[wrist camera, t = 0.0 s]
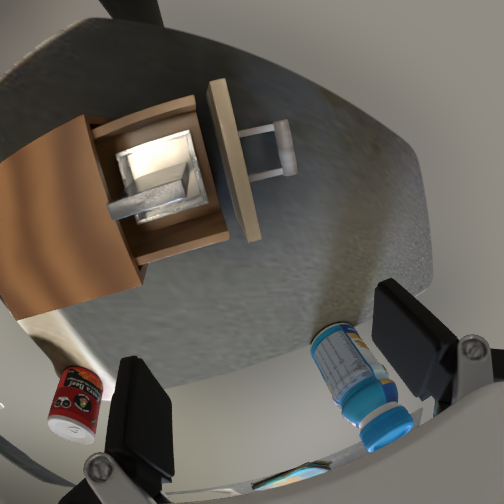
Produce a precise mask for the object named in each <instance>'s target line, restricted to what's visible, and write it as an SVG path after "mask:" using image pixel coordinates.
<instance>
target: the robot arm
mask: <svg viewBox="0 0 504 504" xmlns="http://www.w3.org/2000/svg"><path fill="white" fill-rule="evenodd" d="M372 339H373V342H374V343H375V345H376V346H377V347H378V349H379V350H380V351H381V352H382V354H383V355H384V356H385V358H386V359H387V360H388V362H389V363H390V364H391V366H392V367H393V368H394V370H395V371H396V372H397V374H398V375H399V376H400V378H401V379H402V380H403V382H404V383H405V384H406V386H407V387H408V388H409V390H410V391H411V392H412V394H413V395H414V396H415V397H419V398H420V399H421V401H424V400H425V399H427V398H428V397H430V396H432V397H434V399H435V406H434V414H433V418H432V419H431V420H429V421H427V422H426V423H424V424H422V425H421V426H419V427H418V428H416V429H414V430H413V431H411V432H409V433H407V434H406V435H404V436H402V437H400V438H399V439H397V440H395V441H393V442H391V443H389V444H388V445H386V446H384V447H382V448H380V449H378V450H376V451H374V452H372V453H370V454H367V455H365V456H363V457H361V458H359V459H356V460H354V461H352V462H350V463H347V464H345V465H342V466H340V467H337V468H335V469H332V470H330V471H327V472H324V473H321V474H319V475H316V476H313V477H310V478H307V479H304V480H300V481H297V482H294V483H290V484H287V485H283V486H280V487H276V488H272V489H268V490H264V491H259V492H255V493H250V494H245V495H239V496H234V497H228V498H221V499H213V500H206V501H196V502H185V503H175V502H173V501H172V500H171V499H170V498H169V497H168V496H167V495H166V494H165V493H164V492H163V491H162V483H172V479H171V477H173V476H174V474H175V471H174V457H173V456H174V454H173V433H172V403H171V400H170V398H169V396H168V395H167V393H166V392H165V391H164V389H163V388H162V387H161V385H160V384H159V383H158V381H157V380H156V378H155V377H154V376H153V374H152V373H151V371H150V370H149V368H148V367H147V365H146V364H145V362H144V361H143V360H142V359H141V358H139V359H138V357H137V356H130V357H125V358H122V359H121V361H120V366H119V371H118V376H117V381H116V386H115V392H114V394H113V396H112V400H111V406H110V413H109V419H108V426H107V434H106V442H105V451H104V453H101V452H98V453H94V454H93V455H91V456H90V457H89V458H88V459H87V460H86V462H85V464H84V476H85V478H84V479H83V480H82V481H81V482H80V483H79V484H78V485H76V486H75V487H74V488H73V489H72V490H71V491H70V492H68V493H67V494H66V495H65V496H64V497H63V498H62V499H61V500H60V501H59V503H58V504H504V350H502V349H491V348H490V347H489V344H488V342H487V341H486V340H485V339H484V338H483V337H480V336H478V335H474V334H471V335H466V336H464V337H463V338H462V339H460V340H458V338H457V337H456V336H455V335H454V334H453V333H452V332H451V331H450V330H449V329H448V328H447V327H446V326H445V325H444V324H443V323H442V322H441V321H440V320H439V319H438V318H436V317H435V316H434V315H433V314H432V313H431V312H430V311H429V310H428V309H427V308H426V307H425V306H423V305H422V304H421V303H420V302H419V301H418V300H417V299H416V298H415V297H413V296H412V295H411V294H410V293H409V292H408V291H407V290H406V289H404V288H403V287H402V286H401V285H400V284H399V283H398V282H396V281H395V280H394V279H392V278H389V279H387V280H384V281H382V282H379V283H378V286H377V287H376V288H375V295H374V312H373V325H372Z"/></svg>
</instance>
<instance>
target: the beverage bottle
mask: <svg viewBox="0 0 504 504" xmlns="http://www.w3.org/2000/svg"><path fill="white" fill-rule="evenodd" d="M310 351H311V355H312V357H313V359H314V361H315V363H316V365H317V367H318V368H319V370H320V372H321V374H322V376H323V378H324V380H325V382H326V384H327V386H328V388H329V390H330V392H331V394H332V397H333V400H334V402H335V404H336V405H337V406H338V407H339V408H340V409H342V416H343V418H344V419H345V420H346V421H347V422H349V423H350V424H352V425H354V426H355V427H358V428H360V430H359V435H360V438H361V440H362V442H363V444H364V446H365V448H366V449H367V450H368V452H374V451H376V450H378V449H380V448H382V447H384V446H386V445H388V444H389V443H391V442H393V441H395V440H397V439H399V438H400V437H402V436H404V435H406V434H407V433H408V432H409V431H410V430H411V429H412V427H413V425H414V421H413V419H412V417H411V416H410V414H409V413H408V411H407V410H406V409H405V407H404V406H402V405H398V392H397V387H396V384H395V382H394V381H392V380H390V379H389V375H388V372H387V370H386V368H385V367H384V366H383V365H382V364H380V363H379V362H378V361H377V359H376V358H375V356H374V355H373V354H372V352H370V350H369V348H368V347H367V346H366V344H365V343H364V342H363V340H362V339H361V338H360V336H359V334H358V333H357V331H356V330H355V328H354V327H353V326H351V325H350V324H347V323H337V324H333V325H331V326H329V327H327V328H325V329H324V330H322V331H321V332H320V333H319V334H318V335H317V336H316V337H315V338H314V340H313V342H312V344H311V349H310Z"/></svg>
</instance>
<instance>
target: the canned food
mask: <svg viewBox="0 0 504 504" xmlns="http://www.w3.org/2000/svg"><path fill="white" fill-rule="evenodd" d="M102 393H103V386H102V382H101V380H100V379H99V378H98V377H97V376H96V375H95V374H94V373H92V372H91V371H89V370H87V369H85V368H81V367H69V368H67V369H66V370H65V371H64V372H63V373H62V375H61V378H60V381H59V384H58V387H57V390H56V393H55V396H54V399H53V402H52V405H51V408H50V412H49V416H48V421H47V424H48V426H49V428H50V429H51V430H52V431H53V432H55V433H56V434H57V435H59V436H60V437H62V438H64V439H66V440H69V441H72V442H74V443H79V444H90V443H92V442H93V441H94V438H95V433H96V427H97V420H98V414H99V409H100V403H101V398H102Z"/></svg>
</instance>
